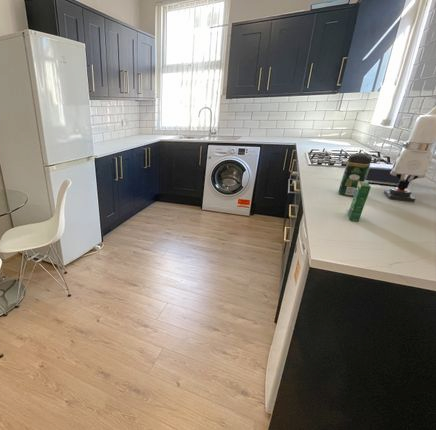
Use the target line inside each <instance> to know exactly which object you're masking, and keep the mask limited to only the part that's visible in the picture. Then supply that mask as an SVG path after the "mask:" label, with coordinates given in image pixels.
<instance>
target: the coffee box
mask: <svg viewBox="0 0 436 430" xmlns="http://www.w3.org/2000/svg"><path fill="white" fill-rule="evenodd" d="M368 182H369V181H365V182H362V181H359V182H358V185H357V188H356V191H355V194H354V196H352V201H351V204H350V207H349V210H348V213H347V215H349V216H348V220H349V221H350V220H353V221H352V222H356V221H358V222H360V219H361V217H362V213H363V211H364V207H365V204H366V202H367V199H368V197H369V193H370V191H371V188H372V186H371V184H368Z"/></svg>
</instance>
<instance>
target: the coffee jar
mask: <svg viewBox="0 0 436 430" xmlns="http://www.w3.org/2000/svg"><path fill="white" fill-rule="evenodd" d="M372 159H373V157H372V156H371V155H370V154H369V153H364V152H356V153H352V154H350V155H349V156H348V159H347V162H346V165H345V168H344V171H343V175H342V177H341V181H340V185H339V188H338V194H339V195H342V196H345V197H354V194H355V191H356V188H357V185H358V182H359V181H362V182H364V181H365V182H366V180H365V178H366V175H367V172H368V169H369V166H370V163H372Z"/></svg>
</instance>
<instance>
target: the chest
mask: <svg viewBox="0 0 436 430" xmlns="http://www.w3.org/2000/svg"><path fill="white" fill-rule="evenodd" d="M391 171H392V170H382V169H370V168H369V169H368V172H367V175H366V178H365V181H364V182H366V181H367V182H368V184H369V185H374V186H382V187H383V186H384V187H390V188H391V187H392V188H398V187H397V185H398V182H399V178H398V177H397V176H394V175H391V174H390V172H391Z"/></svg>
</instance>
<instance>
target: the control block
mask: <svg viewBox="0 0 436 430" xmlns="http://www.w3.org/2000/svg"><path fill="white" fill-rule="evenodd" d="M396 188H397V187H392V188H391V187H390V189H384V191H383V194H384V195H385V197H386V198H387V199H388V200H394V201H399V202H406V203H407V202H408V203H415V201H416V198H415V197H414V196H413V195H412V193H413V192H412V191H411V190H409V189H406V188H405V190H407V192H403V191H397V190H395V189H396Z"/></svg>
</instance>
